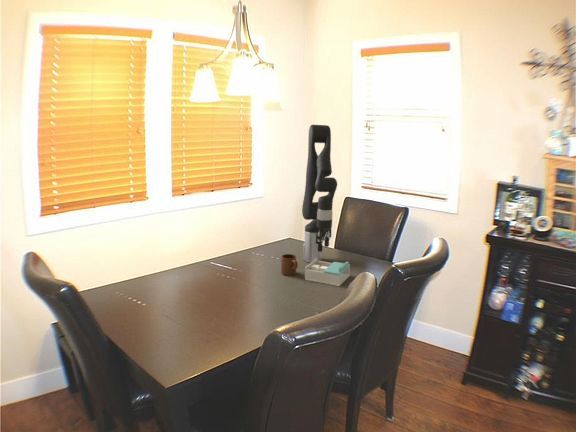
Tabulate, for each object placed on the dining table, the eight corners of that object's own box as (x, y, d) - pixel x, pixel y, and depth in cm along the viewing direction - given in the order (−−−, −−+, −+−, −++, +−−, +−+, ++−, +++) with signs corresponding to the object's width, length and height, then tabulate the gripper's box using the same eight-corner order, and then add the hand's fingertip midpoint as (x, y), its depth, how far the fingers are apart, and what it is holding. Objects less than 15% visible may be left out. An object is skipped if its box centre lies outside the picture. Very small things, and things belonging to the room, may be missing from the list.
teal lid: (323, 272, 217) (323, 267, 217) (334, 263, 231) (334, 258, 230) (339, 275, 214) (339, 269, 213) (349, 265, 227) (350, 260, 226)
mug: (303, 277, 226) (303, 259, 224) (290, 280, 222) (290, 262, 220) (291, 270, 236) (291, 253, 234) (278, 272, 232) (278, 255, 230)
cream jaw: (319, 275, 225) (319, 267, 225) (321, 273, 229) (322, 265, 228) (325, 276, 224) (325, 269, 223) (328, 274, 227) (328, 266, 226)
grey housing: (304, 279, 223) (304, 267, 221) (316, 270, 236) (316, 258, 235) (339, 286, 215) (339, 273, 214) (349, 275, 228) (350, 263, 227)
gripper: (323, 213, 227) (321, 243, 231) (311, 219, 215) (310, 251, 219) (337, 215, 224) (335, 246, 228) (326, 222, 211) (324, 254, 215)
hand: (323, 248), depth 223 cm, fingers open, 8 cm apart
